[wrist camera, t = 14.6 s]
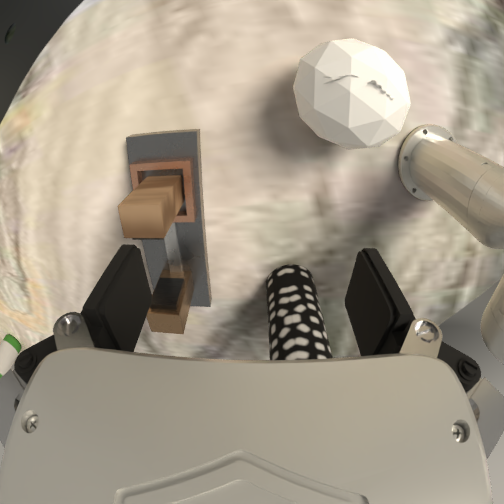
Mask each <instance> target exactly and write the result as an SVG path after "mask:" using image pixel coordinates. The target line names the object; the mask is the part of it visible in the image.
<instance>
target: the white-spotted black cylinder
mask: <svg viewBox="0 0 504 504" xmlns="http://www.w3.org/2000/svg"><path fill="white" fill-rule="evenodd" d="M266 290H267V309H268V329H269V350H270V360H310V359H330V358H332V354H331V350H330V346H329V341H328V337H327V332H326V328H325V324H324V320H323V316H322V312H321V308H320V304H319V300H318V296H317V292H316V288H315V284H314V280H313V277H312V274H311V273H310V272H309V271H308V270H307V269H306V268H304V267H302V266H299V265H285V266H282V267H279V268H277V269H275V270H274V271H273V272H272V273H271V274H270V275H269V277H268V279H267V282H266Z"/></svg>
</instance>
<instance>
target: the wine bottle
mask: <svg viewBox="0 0 504 504" xmlns="http://www.w3.org/2000/svg"><path fill="white" fill-rule="evenodd" d="M20 350H21V345H20V343H19V342H18V341H17V340H16V339H15V338H14V337H13V336H11V335H6V336H5V338H4V339H3V341H2V343H1V344H0V378H1V377H2V376H3V375H4V374H5V373H6V372H8V371H9V370H10V369H11V367H12V365H13V363H14V361H15V359H16V358H17V356H18V354H19V352H20Z"/></svg>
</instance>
